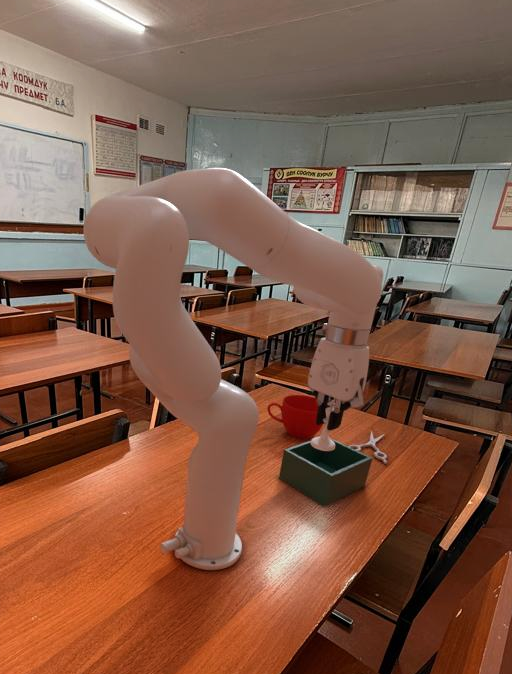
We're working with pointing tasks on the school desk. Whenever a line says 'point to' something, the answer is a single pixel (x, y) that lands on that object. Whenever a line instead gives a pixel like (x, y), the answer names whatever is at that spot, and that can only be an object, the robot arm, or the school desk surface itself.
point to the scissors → (372, 444)
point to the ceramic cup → (298, 415)
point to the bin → (325, 471)
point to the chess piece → (325, 433)
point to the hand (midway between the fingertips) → (327, 425)
